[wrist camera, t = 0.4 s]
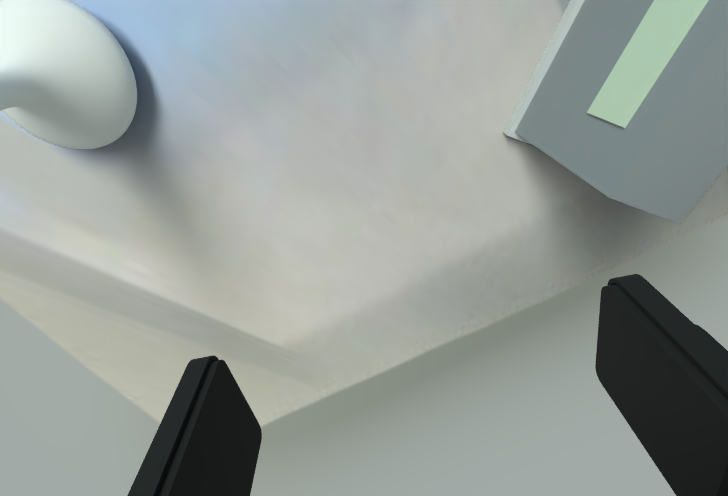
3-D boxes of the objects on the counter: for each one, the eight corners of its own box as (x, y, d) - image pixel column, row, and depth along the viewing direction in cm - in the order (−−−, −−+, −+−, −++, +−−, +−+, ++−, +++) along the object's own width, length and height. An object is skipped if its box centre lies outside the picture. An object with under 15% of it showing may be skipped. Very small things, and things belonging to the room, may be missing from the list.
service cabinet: (602, -62, 31) (819, -128, 16) (667, -28, 32) (922, -63, 18) (502, 132, 37) (595, 202, 23) (559, 154, 39) (680, 234, 24)
